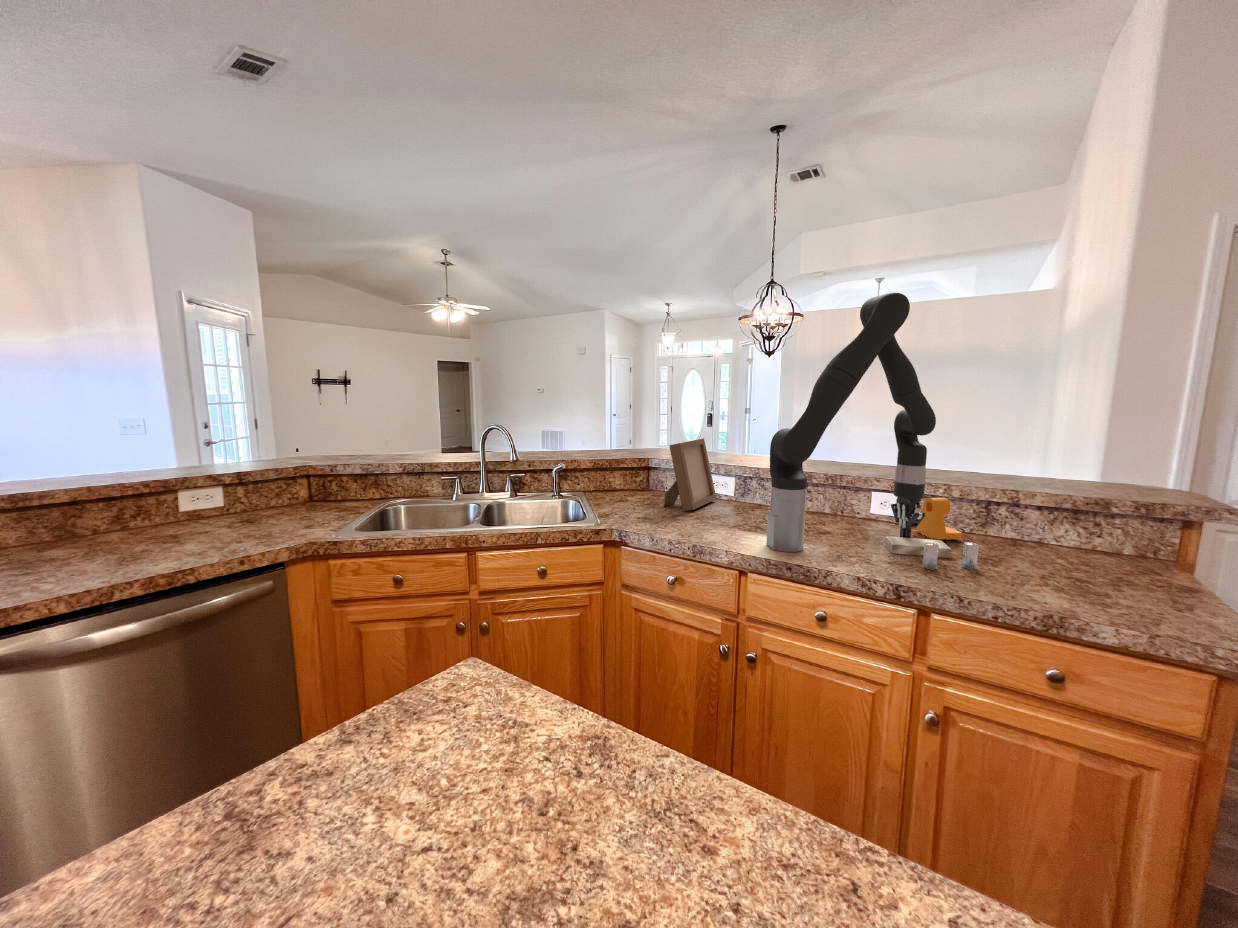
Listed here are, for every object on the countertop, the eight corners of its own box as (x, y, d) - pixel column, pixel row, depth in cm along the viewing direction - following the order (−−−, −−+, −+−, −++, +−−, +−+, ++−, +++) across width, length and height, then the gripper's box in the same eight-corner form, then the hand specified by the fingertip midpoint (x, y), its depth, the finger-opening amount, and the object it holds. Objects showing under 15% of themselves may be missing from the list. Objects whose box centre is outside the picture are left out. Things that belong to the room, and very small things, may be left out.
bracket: (962, 541, 147) (966, 501, 146) (938, 542, 147) (941, 501, 145) (938, 531, 158) (941, 494, 156) (915, 532, 158) (918, 494, 156)
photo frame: (716, 501, 201) (717, 438, 197) (693, 512, 182) (693, 443, 179) (682, 497, 209) (683, 437, 205) (657, 507, 191) (657, 442, 187)
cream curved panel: (891, 554, 137) (892, 544, 136) (884, 546, 144) (885, 536, 144) (950, 559, 133) (951, 548, 133) (940, 550, 141) (941, 540, 140)
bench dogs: (927, 569, 124) (929, 546, 123) (919, 565, 127) (921, 542, 126) (979, 569, 124) (981, 545, 123) (970, 565, 127) (973, 542, 126)
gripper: (883, 476, 148) (879, 533, 151) (910, 484, 135) (905, 547, 138) (908, 476, 148) (903, 533, 151) (938, 484, 135) (932, 547, 138)
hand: (904, 540), depth 144 cm, fingers closed
